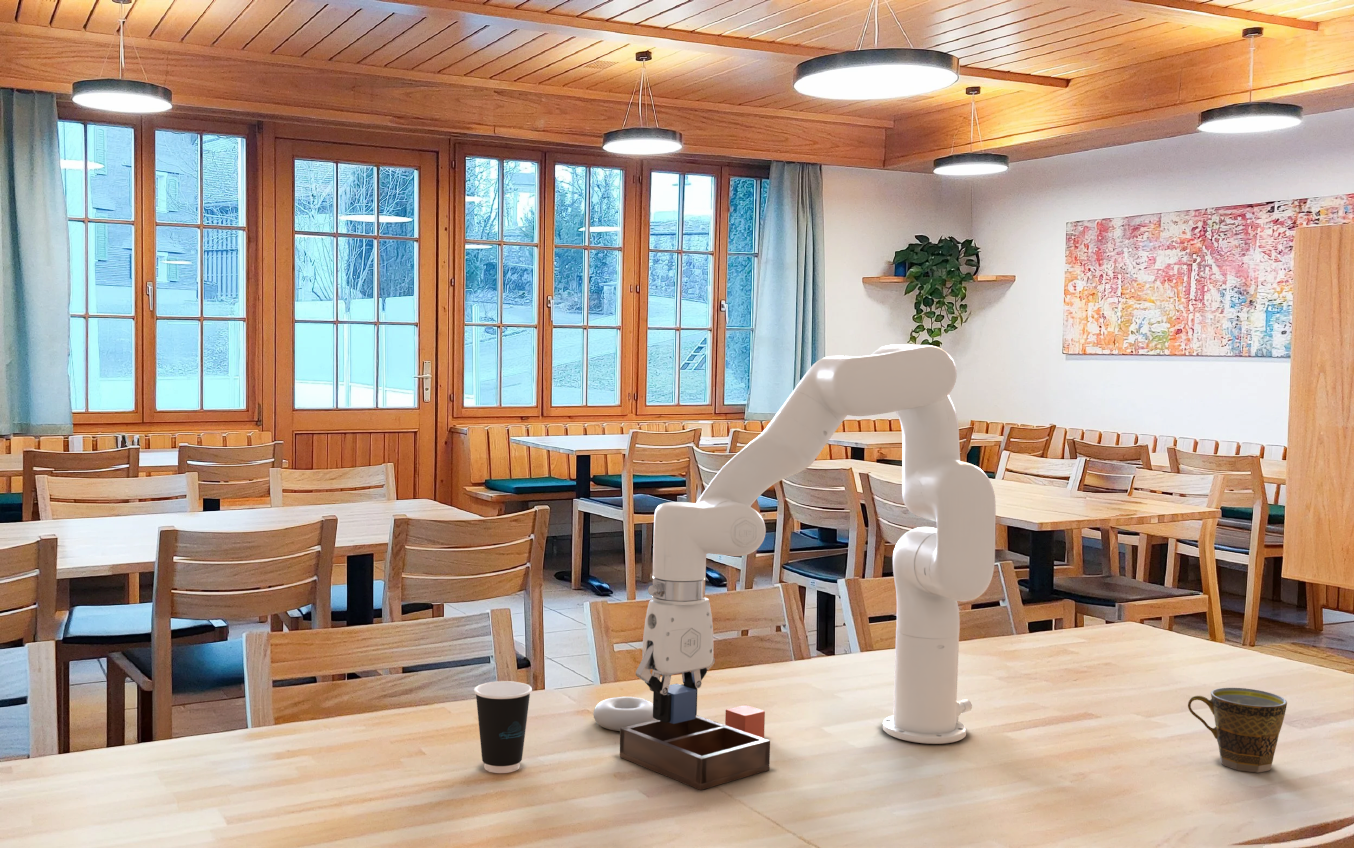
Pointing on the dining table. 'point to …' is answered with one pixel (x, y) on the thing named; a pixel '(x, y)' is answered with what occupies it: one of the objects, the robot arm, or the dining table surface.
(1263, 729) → the ceramic cup
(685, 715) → the slate block
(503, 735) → the dixie cup
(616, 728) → the donut
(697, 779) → the sorting tray
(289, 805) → the dining table surface
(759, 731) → the terracotta block
